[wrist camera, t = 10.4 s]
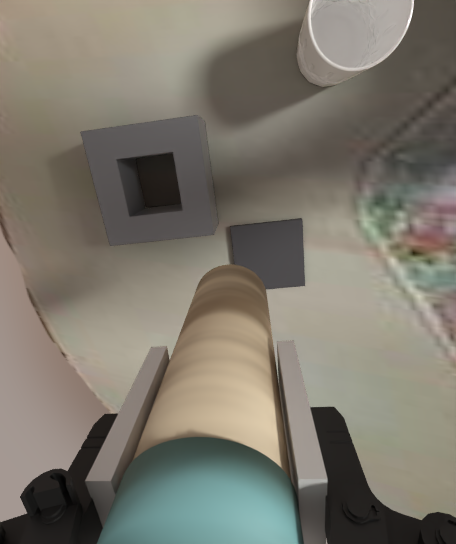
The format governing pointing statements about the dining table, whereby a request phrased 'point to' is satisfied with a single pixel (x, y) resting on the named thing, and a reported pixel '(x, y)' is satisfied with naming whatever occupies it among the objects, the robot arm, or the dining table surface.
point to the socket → (127, 189)
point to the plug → (213, 432)
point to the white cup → (349, 37)
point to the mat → (271, 251)
